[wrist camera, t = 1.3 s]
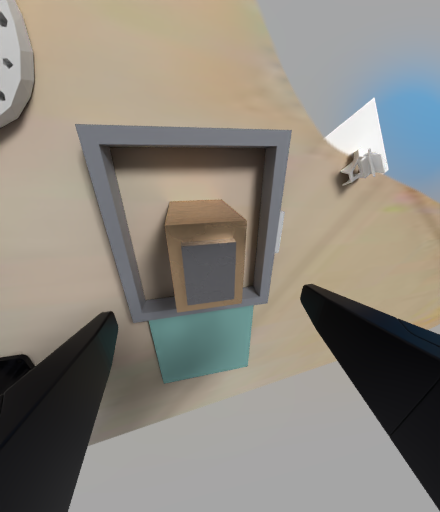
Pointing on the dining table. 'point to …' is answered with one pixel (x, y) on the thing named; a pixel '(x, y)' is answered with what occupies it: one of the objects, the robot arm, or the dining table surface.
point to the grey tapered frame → (275, 142)
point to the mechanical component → (14, 63)
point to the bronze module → (205, 253)
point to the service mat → (202, 342)
